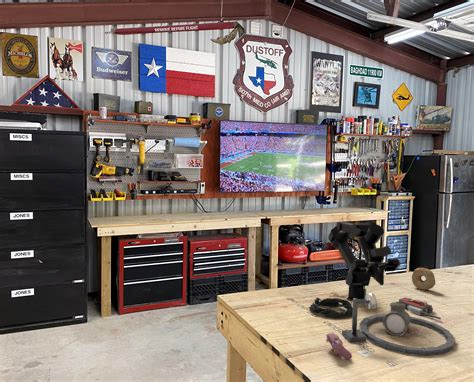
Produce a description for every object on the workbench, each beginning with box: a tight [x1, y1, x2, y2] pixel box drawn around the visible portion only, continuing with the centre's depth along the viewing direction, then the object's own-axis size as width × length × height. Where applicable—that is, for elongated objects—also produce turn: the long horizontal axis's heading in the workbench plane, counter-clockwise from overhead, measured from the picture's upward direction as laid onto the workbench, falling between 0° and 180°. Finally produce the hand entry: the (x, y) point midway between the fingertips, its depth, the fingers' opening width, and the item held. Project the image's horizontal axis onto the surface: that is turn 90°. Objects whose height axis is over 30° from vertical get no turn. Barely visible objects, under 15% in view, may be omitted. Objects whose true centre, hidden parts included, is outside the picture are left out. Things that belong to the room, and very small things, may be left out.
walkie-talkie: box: [397, 297, 442, 320], centre depth 167 cm, size 9×4×20 cm
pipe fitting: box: [382, 301, 411, 337], centre depth 148 cm, size 12×8×10 cm
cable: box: [308, 297, 353, 319], centre depth 164 cm, size 17×14×4 cm
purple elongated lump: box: [325, 332, 353, 360], centre depth 129 cm, size 10×5×7 cm, turn 5°
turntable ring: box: [358, 313, 456, 356], centre depth 144 cm, size 30×30×2 cm
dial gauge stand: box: [341, 293, 378, 343], centre depth 140 cm, size 9×6×15 cm, turn 100°
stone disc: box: [411, 267, 437, 291], centre depth 195 cm, size 10×4×10 cm, turn 46°
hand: (382, 284), depth 159 cm, fingers closed
